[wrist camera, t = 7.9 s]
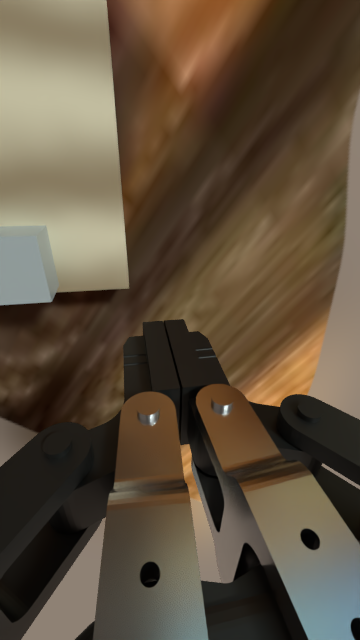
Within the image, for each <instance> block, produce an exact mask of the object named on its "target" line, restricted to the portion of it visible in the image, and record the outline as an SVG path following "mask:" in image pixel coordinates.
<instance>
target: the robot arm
mask: <svg viewBox="0 0 360 640" xmlns="http://www.w3.org/2000/svg"><path fill="white" fill-rule="evenodd" d="M123 350H124V397H125V399H124V404H123V407H122V409H121V410H120V412H119V413H118V414H117V415H116V416H115V417H114V418H113V419H111V420H110V421H108V422H107V423H104V424H102V425H100V426H97V427H95V428H93V429H90V430H87V429H86V428H85V427H83V426H82V425H80V424H77V423H72V422H65V423H59V424H55V425H52V426H50V427H48V428H46V429H44V430H43V431H41V432H40V433H39V434H37V435H36V436H35V437H34V438H33V439H32V440H31V441H29V442H28V443H27V444H26V445H25V446H24V447H22V448H21V449H20V450H19V451H18V452H17V453H16V454H14V455H13V456H12V457H11V458H10V459H9V460H8V461H7V462H5V463H4V464H3V465H2V466H1V467H0V640H21V639H22V637H23V636H24V634H25V633H26V631H27V630H28V629H29V627H30V626H31V624H32V623H33V621H34V620H35V618H36V617H37V615H38V614H39V613H40V611H41V610H42V608H43V607H44V605H45V604H46V602H47V601H48V599H49V598H50V597H51V595H52V594H53V592H54V591H55V589H56V588H57V586H58V585H59V584H60V582H61V581H62V579H63V578H64V576H65V575H66V573H67V572H68V570H69V569H70V567H71V566H72V565H73V563H74V562H75V560H76V558H77V557H78V556H79V554H80V553H81V551H82V550H83V549H84V547H85V546H86V544H87V543H88V541H89V540H90V538H91V537H92V536H93V534H94V532H95V531H96V530H97V528H98V527H99V525H100V523H101V521H102V519H103V518H105V517H106V521H105V531H104V540H103V549H102V559H101V569H100V578H99V587H98V597H97V606H96V615H95V621H94V622H93V623H91V624H90V625H89V626H88V627H87V628H86V629H85V630H84V631H83V632H82V633H81V634H80V635H79V636H78V637H77V638H76V639H75V640H360V490H359V489H358V488H356V487H355V486H353V485H351V484H349V483H348V482H346V481H345V480H343V479H341V478H340V477H338V476H337V475H335V474H333V473H332V472H330V471H329V470H327V469H325V468H324V467H322V466H321V465H322V463H324V464H325V465H327V466H329V467H330V468H332V469H333V470H335V471H337V472H338V473H340V474H342V475H343V476H345V477H347V478H348V479H350V480H351V481H353V482H355V483H356V484H358V485H360V420H359V419H357V418H355V417H353V416H350V415H349V414H347V413H344V412H342V411H341V410H339V409H337V408H335V407H332V406H330V405H328V404H326V403H324V402H322V401H320V400H318V399H316V398H314V397H311V396H307V395H301V394H295V395H290V396H288V397H286V398H285V399H284V400H283V401H282V402H281V405H280V407H277V406H269V405H262V404H256V403H253V402H250V401H248V400H247V399H246V397H245V396H244V395H243V394H242V393H241V392H240V391H239V390H238V389H236V388H234V387H232V386H230V384H229V382H228V380H227V378H226V376H225V374H224V372H223V370H222V368H221V365H220V363H219V361H218V359H217V357H216V355H215V353H214V351H213V350H212V347H211V344H210V342H209V340H208V338H206V337H205V336H204V335H202V334H201V333H200V332H199V331H197V332H189V331H188V329H187V326H186V324H185V321H184V320H183V319H181V320H167V321H164V322H163V321H154V322H143V336H135V337H129V338H128V340H127V341H126V343H125V344H124V346H123ZM179 440H180V441H179ZM184 444H190V449H191V453H192V461H191V467H192V471H193V475H194V478H195V481H196V484H197V488H198V491H199V494H200V497H201V500H202V504H203V507H204V510H205V513H206V516H207V520H208V522H209V526H210V529H211V533H212V536H213V540H214V545H215V552H216V560H217V566H218V571H219V575H220V579H221V582H222V583H216V582H207V581H201V580H200V571H199V564H198V556H197V549H196V541H195V533H194V526H193V518H192V511H191V503H190V496H189V490H188V486H187V483H185V480H184V474H183V466H182V457H181V449H180V445H184Z"/></svg>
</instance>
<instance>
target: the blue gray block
mask: <svg viewBox="0 0 360 640" xmlns="http://www.w3.org/2000/svg"><path fill="white" fill-rule="evenodd" d="M58 287H59V282H58V278H57V273H56V268H55V264H54V259H53V255H52V250H51V245H50V241H49V236H48V231H47V227H46V225H43V226H0V305H12V304H28V303H44V302H52V300H53V298H54V296H55V294H56V292H57V289H58Z"/></svg>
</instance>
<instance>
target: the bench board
mask: <svg viewBox="0 0 360 640" xmlns="http://www.w3.org/2000/svg"><path fill="white" fill-rule="evenodd" d="M43 225H46V227H47V231H48V236H49V241H50V245H51V250H52V255H53V259H54V264H55V268H56V273H57V278H58V282H59V287H58V289H57V292H73V291H91V290H108V289H126V288H129V278H128V264H127V252H126V239H125V226H124V214H123V201H122V188H121V176H120V163H119V151H118V138H117V125H116V113H115V100H114V87H113V75H112V62H111V49H110V37H109V24H108V13H107V2H106V0H0V226H43Z"/></svg>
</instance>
